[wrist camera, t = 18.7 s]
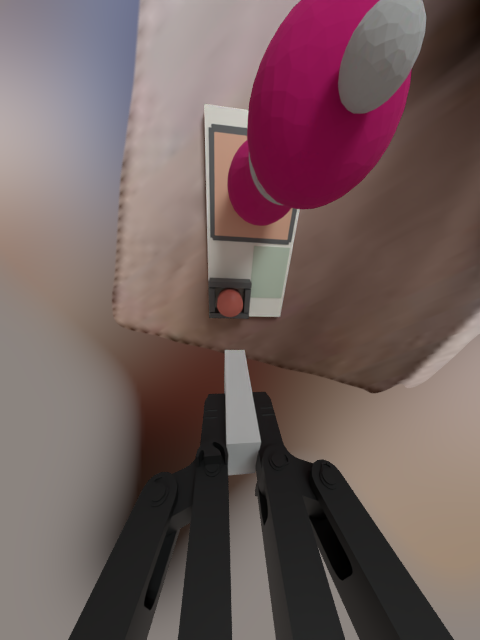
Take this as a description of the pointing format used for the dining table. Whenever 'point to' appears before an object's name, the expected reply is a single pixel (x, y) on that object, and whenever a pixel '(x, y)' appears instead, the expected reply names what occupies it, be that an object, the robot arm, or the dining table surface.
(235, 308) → the button
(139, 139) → the dining table surface
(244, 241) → the picture board
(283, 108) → the pepper mill
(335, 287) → the dining table surface
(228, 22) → the dining table surface
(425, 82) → the dining table surface
